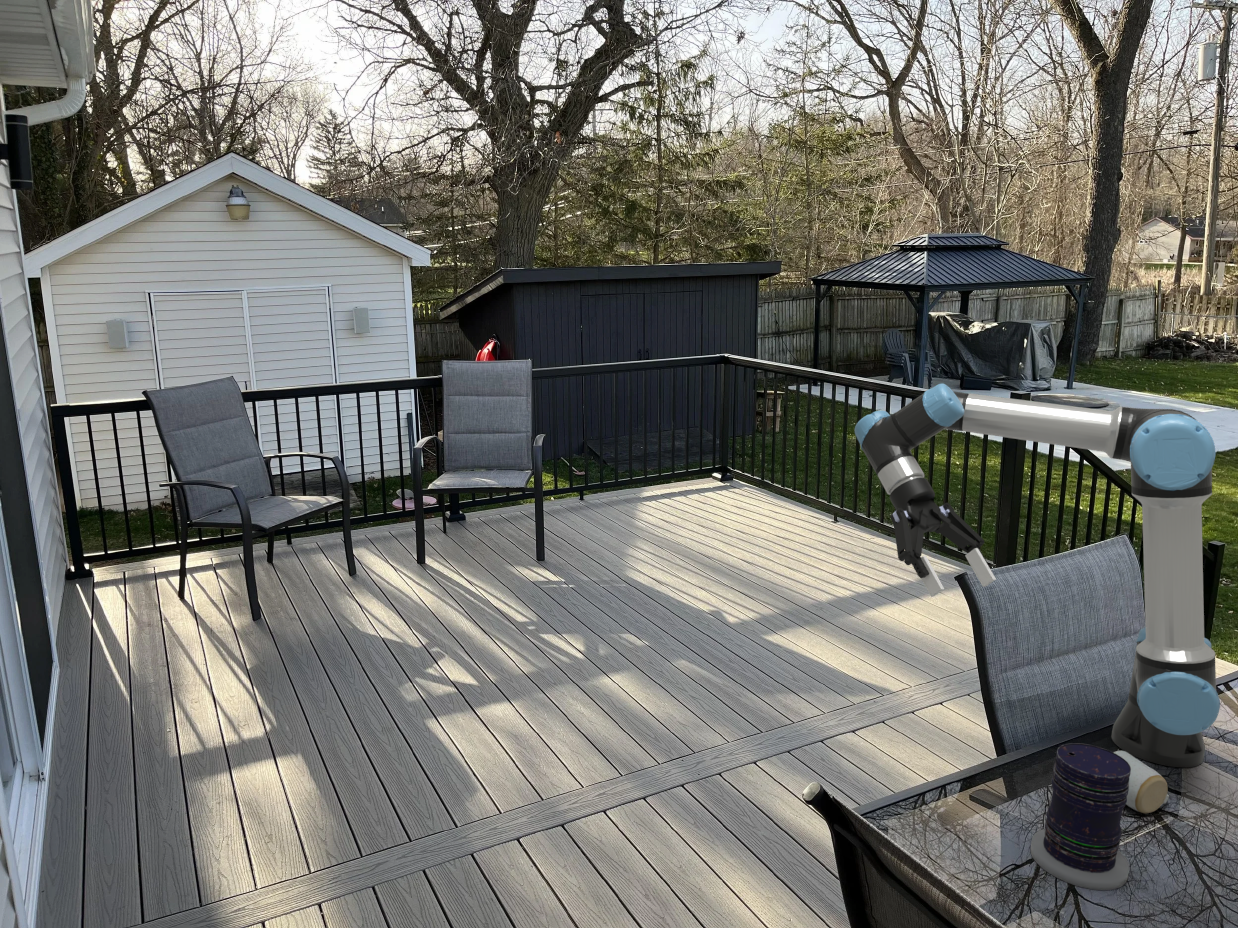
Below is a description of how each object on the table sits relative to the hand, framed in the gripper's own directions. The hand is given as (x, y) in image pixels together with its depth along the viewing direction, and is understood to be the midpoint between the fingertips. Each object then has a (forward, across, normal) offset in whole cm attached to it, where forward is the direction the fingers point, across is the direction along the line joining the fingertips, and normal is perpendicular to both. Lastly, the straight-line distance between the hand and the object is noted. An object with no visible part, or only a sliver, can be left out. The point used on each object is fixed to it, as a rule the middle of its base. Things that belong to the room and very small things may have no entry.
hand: (964, 588), depth 161 cm
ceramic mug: (+40, -17, -5) cm, 44 cm away
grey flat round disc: (+45, +8, 0) cm, 45 cm away
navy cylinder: (+44, +8, +1) cm, 44 cm away
